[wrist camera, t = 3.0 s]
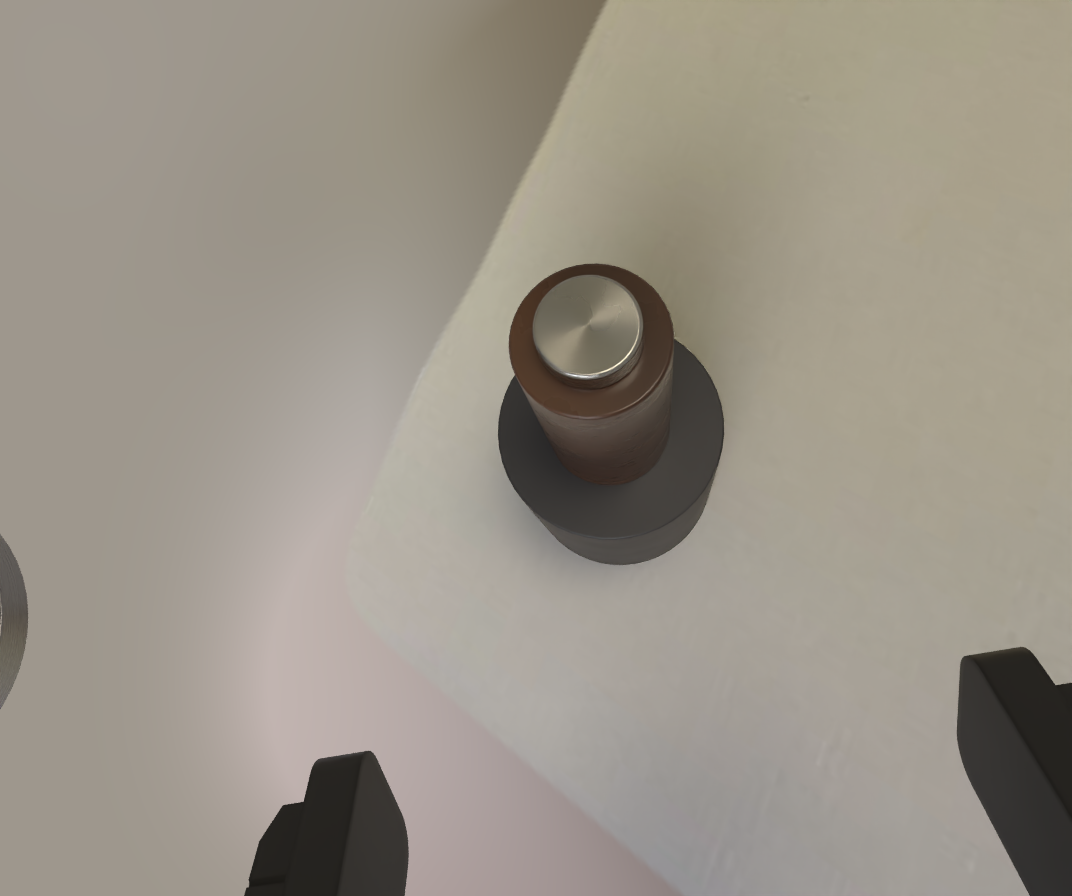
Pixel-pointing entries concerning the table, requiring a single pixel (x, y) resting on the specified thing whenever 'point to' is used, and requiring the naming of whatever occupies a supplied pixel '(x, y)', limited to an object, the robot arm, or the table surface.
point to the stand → (631, 508)
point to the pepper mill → (597, 369)
